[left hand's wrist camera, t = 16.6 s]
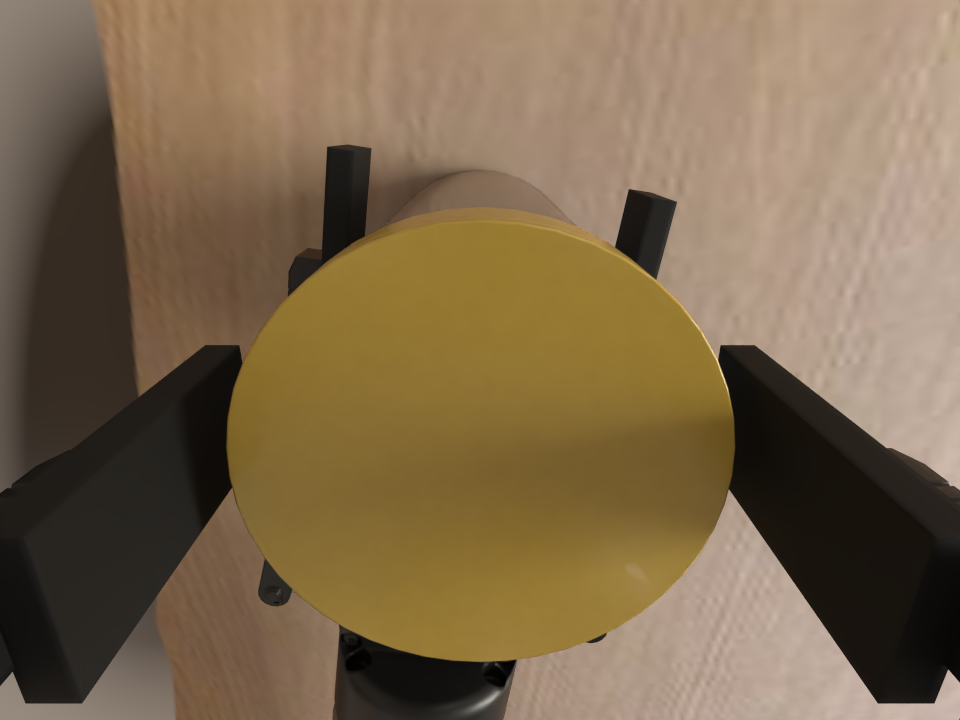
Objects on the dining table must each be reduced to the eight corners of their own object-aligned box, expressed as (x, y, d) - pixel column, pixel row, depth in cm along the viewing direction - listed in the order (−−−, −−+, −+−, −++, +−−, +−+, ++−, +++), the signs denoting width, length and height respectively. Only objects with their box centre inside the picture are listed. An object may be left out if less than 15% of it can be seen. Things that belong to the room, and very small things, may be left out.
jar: (572, 360, 27) (677, 621, 13) (390, 362, 27) (288, 625, 13) (581, 169, 24) (735, 226, 10) (376, 171, 24) (219, 232, 10)
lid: (668, 145, 10) (702, 147, 8) (725, 557, 13) (758, 614, 12) (181, 280, 11) (132, 305, 9) (347, 635, 14) (331, 697, 12)
